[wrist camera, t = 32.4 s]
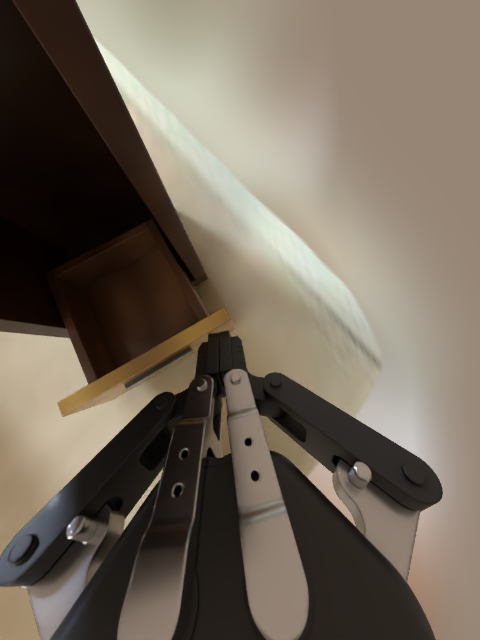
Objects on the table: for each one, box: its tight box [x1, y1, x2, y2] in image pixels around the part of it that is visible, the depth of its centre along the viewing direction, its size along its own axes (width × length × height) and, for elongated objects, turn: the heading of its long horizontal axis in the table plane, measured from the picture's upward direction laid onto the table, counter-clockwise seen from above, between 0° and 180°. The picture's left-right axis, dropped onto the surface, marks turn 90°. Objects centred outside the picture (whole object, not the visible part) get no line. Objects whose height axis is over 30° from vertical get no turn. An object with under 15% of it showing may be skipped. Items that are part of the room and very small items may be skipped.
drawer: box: [45, 219, 234, 417], centre depth 15 cm, size 12×11×4 cm
